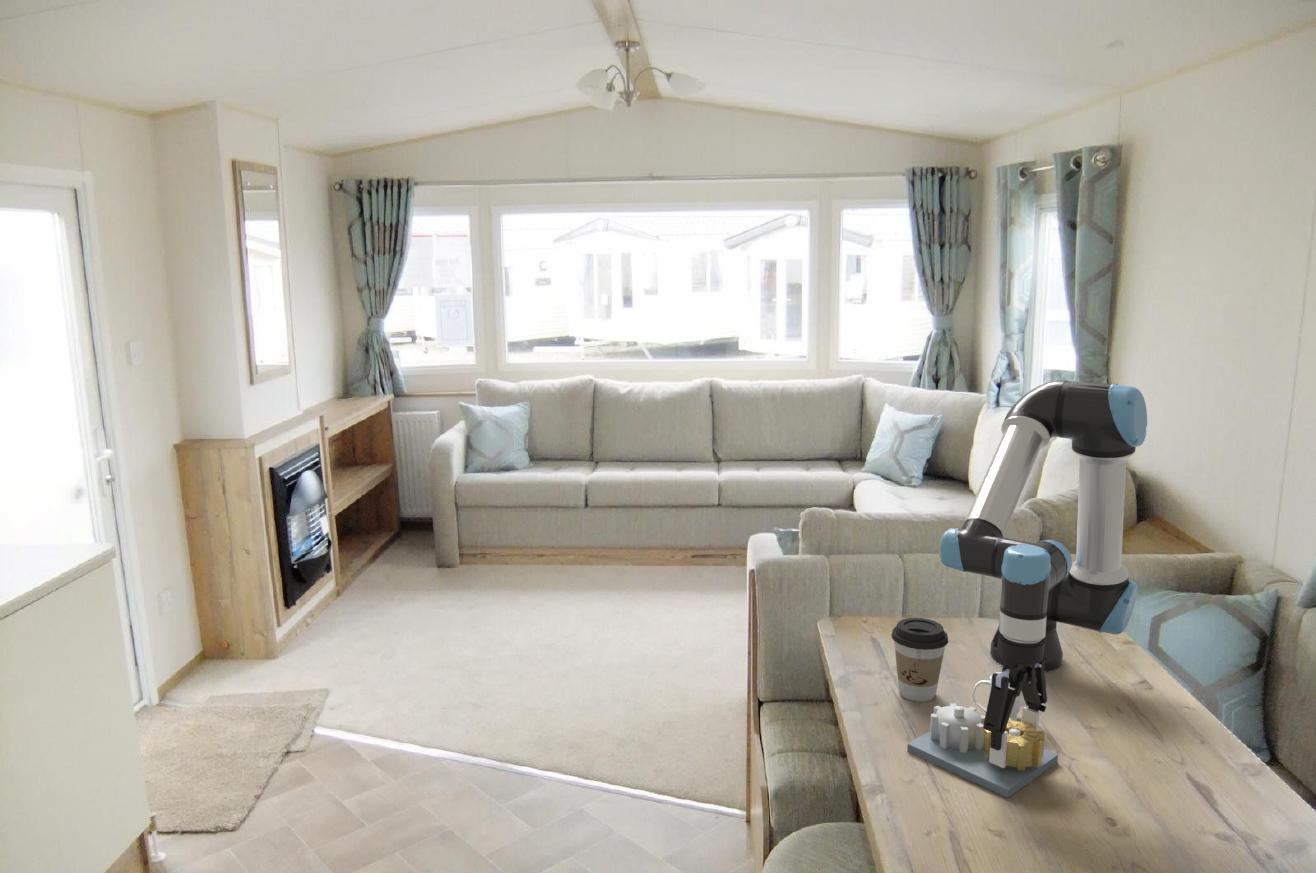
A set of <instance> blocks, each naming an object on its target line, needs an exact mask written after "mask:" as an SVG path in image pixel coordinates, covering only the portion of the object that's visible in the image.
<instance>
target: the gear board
mask: <svg viewBox="0 0 1316 873" xmlns="http://www.w3.org/2000/svg"><path fill="white" fill-rule="evenodd" d="M985 715H986V714H981V715H980V714H979V713H978V712H977V708H975V707H973V706H969V707H965V706H962V705H961V706H960V705H958V704H957V703H949V704H948V705H946V706H940V705H936V706H933V713H931V714H930V720H929V721H930V723H929V731H926V732H925V733H924V734H922V735H920V736H918V737H917V738H915V739H913V740H911V741H910V742H908V743H907V752H908V753H911V754H912V755H914V756H917V757H919V758H921V759H924V760H926V761H927V762H929V763H932V764H934V765H936V766H938V767H941V768H943V769H945V770H946V771H949V772H951V773H953V774H956V775H958V776H960V777H962V778H963V779H966V780H968V781H970V782H972V783H974V784H977V785H978V786H981V787H983V788H985V789H988V790H989V791H992V792H994V793H996V794H998V795H1000V796H1003V797H1005V798H1007V799H1008V798H1010V797H1012V796H1013V795H1014V794H1016V793H1017V792H1019V791H1020V790H1021V789H1023V787H1025V786H1026V785H1029V783H1031V782H1032V781H1033V780H1035V779H1036V778H1038V777H1039V776H1040V775H1041V774H1043V773H1045V772H1046V771H1047V770H1049V769H1051V767H1053V766H1054V765H1056V764H1057V763H1058V762H1059V761H1058V759H1059V754H1057V753H1055V752H1053V751H1050V750H1049V749H1046V748H1044V750H1043V758H1042V764H1041V766H1039V767H1035V766H1033V765H1032V766H1030V767H1025V770H1017V768H1016V767H1013V766H1007V765H1006V767H1004V768H1002V767H999V766H997V765H995V764H993V763H990V762H989V756H985V754H984V752H983V751H984V735H985V729H984V728H983V725H984V720H985ZM1009 734H1010V735H1012V736H1020V731H1019V730H1017V729H1010V730H1009Z"/></svg>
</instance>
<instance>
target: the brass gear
mask: <svg viewBox="0 0 1316 873" xmlns="http://www.w3.org/2000/svg"><path fill="white" fill-rule="evenodd" d="M1010 729H1017V730H1019V731H1020V736H1012V735H1010V734H1009V730H1010ZM1005 731H1007V732H1008V739H1007V753H1006V765H1007V766H1013V767H1016V768H1017V770H1025V767H1030V766H1032V765H1033V766H1035V767H1039V766H1041V764H1042V758H1043V750H1044V749H1045V748H1044V747H1045V736H1046V734H1045V733H1044V731H1043V730H1038V731H1037V730H1036V729H1034V728H1033V727H1032V723H1029V722H1027V721H1025V722H1024V723H1022V721H1019V720H1016V721H1012V720H1011V719H1010V718H1009V720H1008V723H1007V726H1006V729H1005ZM990 738H991V731H988V730H986V729H985V735H984V751H983V752H984V754H985V756H989V754H990Z"/></svg>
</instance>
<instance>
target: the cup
mask: <svg viewBox="0 0 1316 873" xmlns="http://www.w3.org/2000/svg"><path fill="white" fill-rule="evenodd" d="M994 673H996V674H1000V673H1002V671H997V672H994ZM992 675H993V673H992V674H991V675H990V676H989V680H988V679H982V680H979V681H978V682H976V683H975V685H974V687H973V689H972V694H971V696H972V701H973V702H974V704H975V706H977V707H978V708H979V709H980V710H981V711H983V712H984V713H985V714H986V711H987V708H985V707H984V706H983V705H981V704H980V703H979V702H978V701H977V700H976V699H975V698H976V697H975V692H976V690H977V688H978V687H979V686H980V685H981V684H982V685H983V684H984V685H986V686H989V687H990V688H991V687H992ZM1008 688H1009V689H1012V690H1015V689H1014V688H1011V687H1009V686H1008ZM1023 702H1024V697H1023V694H1022V690H1021V693H1020V695H1019V696H1017V697H1016V699H1015V702H1014V705H1013V708H1012V711H1011V714H1010V717H1009V718H1010V719H1011V720H1012V721H1018V719H1019V716H1018V715H1019V713H1020V711H1021V708H1022V705H1023Z"/></svg>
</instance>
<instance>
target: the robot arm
mask: <svg viewBox="0 0 1316 873" xmlns="http://www.w3.org/2000/svg"><path fill="white" fill-rule="evenodd" d="M1147 427H1148V410H1147V404H1146V401H1145V398H1144V396H1143V393H1142V391H1140V390H1139V388H1138V387H1137V388H1136V387H1134V386H1131V385H1129V386H1128V385H1121V384H1119V383H1105V382H1104V383H1102V382H1086V381H1085V382H1083V381H1070V380H1065V379H1062V380H1052V381H1048V382H1045V383H1043V384H1040V385H1038V386H1036V387H1034V388H1033V389H1031V390H1029V391H1028V392H1026V393H1025V394H1024V395H1023V396H1021V397H1020V398H1019V399H1018V400H1017V401H1016V402H1015V403H1014V404H1013V405H1012V406H1011V408H1010V409H1009V410H1008V412H1007V414H1006V416H1005V418H1004V420H1003V421H1002V424H1001V430H1000V431H1001V433H1002V436H1001V438H1000V441H999V443H998V446H997V448H996V450H995V453H994V455H993V457H992V459H991V461H990V464H989V466H988V468H987V470H986V472H985V475H984V477H983V480H982V482H981V484H980V486H979V489H978V490H977V493H976V495H975V497H974V499H973V501H972V504H971V507H970V509H969V510H968V513H967V515H966V517H965V519H964V522H963V524H962V526H961V528H958V527H956V528H952V527H951V528H948V529H947V530H946V531H944V532H943V534H942V537H941V539H940V543H939V550H938V551H939V559H940V561H941V563H942V565H944V566H945V567H947V568H950V569H954V570H957V571H959V572H960V571H961V572H963V573H965V572H967V573H972V574H975V575H976V574H977V575H982V576H987V577H992V578H995V579H996V578H997V579H1000V580H1001V586H1000V603H999V604H1000V606H999V610H998V616H999V619H998V620H999V622H998V626H997V629H996V631H995V633H994V635H993V638H992V640H991V643H990V656H991V657H992V659H993V660H995V661H996V662H997V663H999V664H1001V665H1003V666H1002V669H1001V672H1002V673H1000V674H996V673H995V672H993V673H992V674H993V675H992V674H991V675H992V687H990V693H989V697H988V702H987V707H986V710H987V711H986V713H985V714H984V715H985V720H984V725H983V728H984V729H986V730H988V731H991V738H990V754H989V762H990V763H993V764H995V765H997V766H999V767H1002V768H1004V767H1006V753H1007V739H1008V732H1007V731H1005V729H1006V726H1007V723H1008V720H1009V717H1010V714H1011V711H1012V708H1013V705H1014V702H1015V699H1016V697H1017V696H1019V695H1020V693H1021V690H1022V694H1023V697H1024V699H1023V701H1024V702H1025V706H1024V707H1022V713H1021V715H1022V717H1021V722H1022V723H1024V722H1025V721H1027V722H1029V723H1032V727H1033V728H1034V729H1036V730H1037V731H1039V720H1040V719H1039V718H1040V712H1042V713H1045V711H1046V709H1047V706H1046V704H1047V702H1048V696H1047V695H1048V694H1047V685H1046V684H1047V683H1046V672H1051V671H1054V670H1057V669H1059V668H1060V667H1061V666H1062V664H1063V656H1064V653H1063V649H1062V646H1061V642H1060V639H1059V638H1060V637H1059V634H1058V631H1057V624H1058V623H1061V624H1064V625H1069V626H1074V627H1079V628H1082V629H1087V630H1092V631H1096V632H1098V633H1099V634H1100V633H1106V634H1111V635H1120V634H1122V633H1123V632H1124V631H1125V630H1126V628H1127V626H1128V625H1129V622H1130V619H1131V618H1132V615H1133V611H1134V608H1135V604H1136V600H1137V597H1138V596H1137V595H1138V590H1139V588H1138V586H1139V585H1138V584H1137V583H1136V582H1134V581H1133V580H1129V579H1130V577H1129V576H1130V572H1129V570H1128V568H1127V567H1126V566H1125V565H1123V564H1122V554H1123V553H1122V552H1123V536H1124V535H1123V534H1124V515H1125V498H1126V497H1125V496H1126V494H1125V493H1126V474H1127V460H1128V459H1129V458H1130V457H1132V456H1133V455H1134V454H1135V453H1136V448H1138V447H1140V446H1142V445H1143V444H1144V442H1145V439H1146V436H1147ZM1052 438H1062V439H1069V440H1071V450H1072V452H1073V453H1074V454H1076V455H1077V456H1078V457H1079V462H1078V463H1079V466H1078V467H1079V468H1078V494H1077V495H1078V496H1077V497H1078V498H1077V499H1078V500H1077V522H1076V523H1077V525H1076V526H1077V527H1076V528H1077V529H1076V554H1075V555H1076V556H1075V557H1076V558H1075V560H1074V561H1073V560H1072V555H1071V553H1070V551H1069V550H1068V548H1067V547H1066V546H1065V545H1064V544H1062V542H1060V541H1057V540H1054V539H1045V540H1040V541H1038V542H1035V543H1034V542H1029V541H1025V540H1024V541H1023V540H1019V539H1013V538H1008V537H1007V538H1006V537H1004V536H1005V533H1006V530H1007V529H1008V527H1009V524H1010V522H1011V519H1012V517H1013V514H1014V512H1015V509H1016V508H1017V505H1018V502H1019V500H1020V498H1021V495H1022V493H1023V491H1024V488H1025V486H1026V485H1027V484H1026V483H1027V482H1028V479H1029V477H1030V475H1031V472H1032V469H1033V467H1034V464H1035V463H1036V460H1037V458H1038V456H1039V453H1040V450H1042V449H1044V448H1045V447H1047V446H1048V445H1049V443H1050V441H1051V439H1052ZM1008 686H1009V687H1011V688H1014V689H1015V690H1012V689H1009V688H1008Z"/></svg>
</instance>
